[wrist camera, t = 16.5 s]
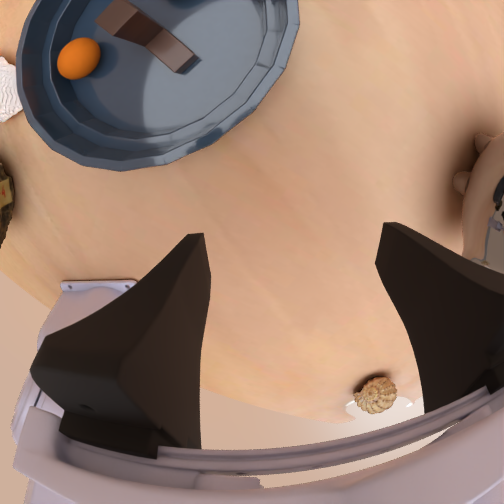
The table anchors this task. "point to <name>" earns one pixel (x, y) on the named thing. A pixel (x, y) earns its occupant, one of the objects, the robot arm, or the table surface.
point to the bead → (78, 58)
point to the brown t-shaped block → (145, 34)
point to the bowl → (150, 78)
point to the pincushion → (8, 91)
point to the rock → (5, 202)
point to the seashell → (376, 395)
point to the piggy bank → (484, 204)
